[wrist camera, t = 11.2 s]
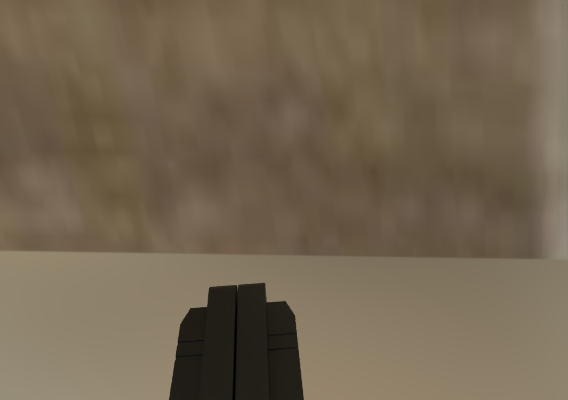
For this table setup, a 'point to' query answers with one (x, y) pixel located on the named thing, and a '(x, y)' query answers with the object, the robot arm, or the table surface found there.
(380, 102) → the table surface
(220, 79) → the table surface
